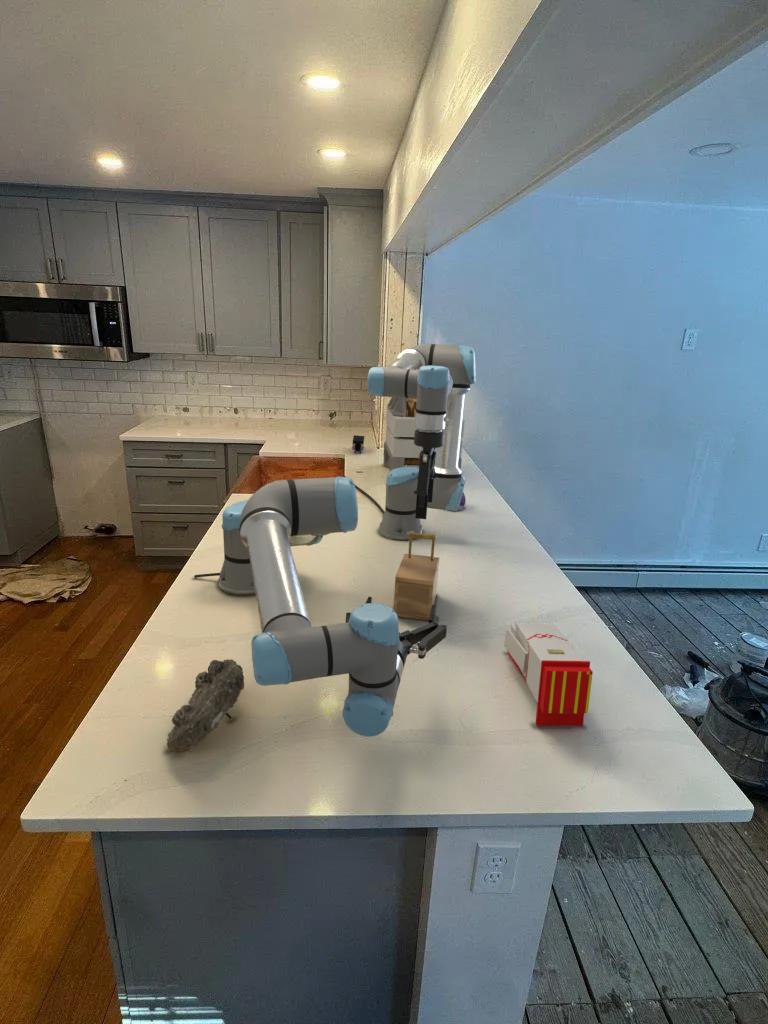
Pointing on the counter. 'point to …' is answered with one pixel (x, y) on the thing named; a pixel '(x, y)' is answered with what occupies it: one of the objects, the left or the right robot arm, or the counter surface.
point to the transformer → (404, 434)
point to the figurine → (461, 503)
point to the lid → (418, 564)
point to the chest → (414, 599)
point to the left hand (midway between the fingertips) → (401, 606)
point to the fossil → (206, 705)
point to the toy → (551, 672)
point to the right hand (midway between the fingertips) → (424, 509)
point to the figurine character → (358, 443)
